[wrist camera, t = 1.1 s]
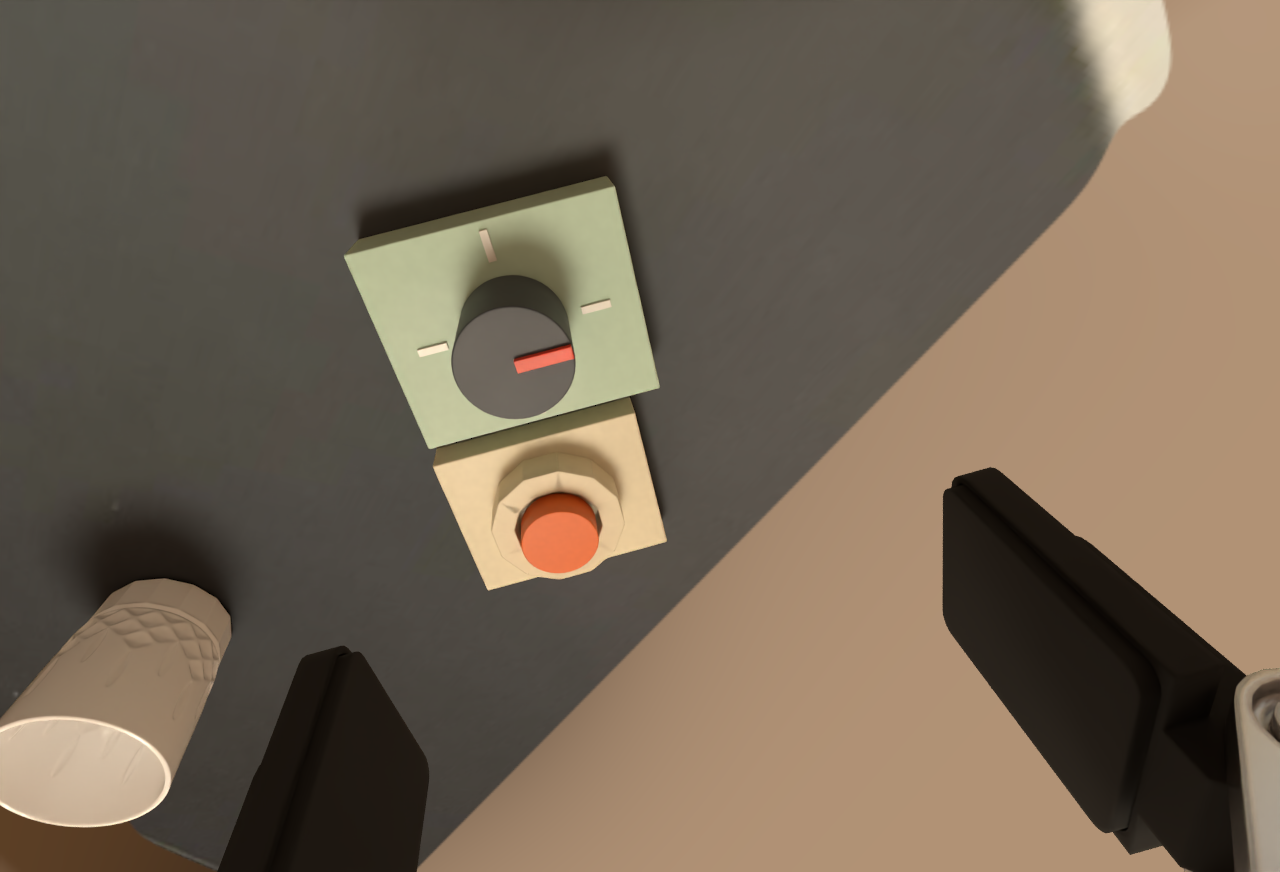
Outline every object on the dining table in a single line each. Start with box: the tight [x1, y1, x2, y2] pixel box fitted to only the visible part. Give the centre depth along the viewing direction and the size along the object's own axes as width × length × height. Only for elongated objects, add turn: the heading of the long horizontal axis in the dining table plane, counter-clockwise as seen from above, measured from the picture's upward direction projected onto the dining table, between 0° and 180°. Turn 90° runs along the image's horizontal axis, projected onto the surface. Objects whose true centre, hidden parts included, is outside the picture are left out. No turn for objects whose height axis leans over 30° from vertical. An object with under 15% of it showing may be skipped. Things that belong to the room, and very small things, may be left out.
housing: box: [433, 397, 667, 590], centre depth 38 cm, size 11×9×4 cm
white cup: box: [0, 578, 231, 827], centre depth 36 cm, size 8×8×10 cm
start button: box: [521, 493, 599, 573], centre depth 36 cm, size 4×4×2 cm
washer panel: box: [344, 176, 660, 449], centre depth 33 cm, size 12×10×3 cm
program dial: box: [451, 275, 576, 419], centre depth 30 cm, size 5×5×5 cm
